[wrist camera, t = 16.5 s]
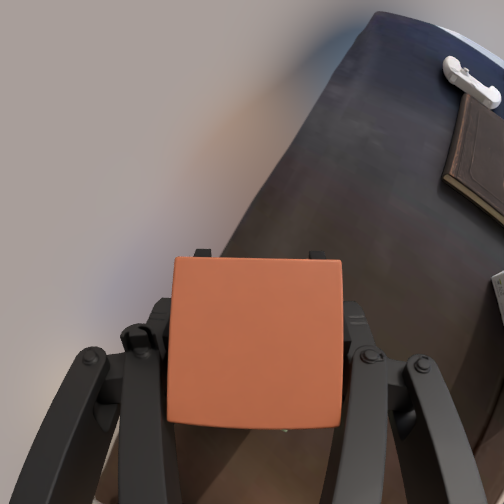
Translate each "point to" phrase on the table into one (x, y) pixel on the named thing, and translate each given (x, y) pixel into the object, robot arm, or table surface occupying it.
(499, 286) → the tea box
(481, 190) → the hardcover book
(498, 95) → the game controller
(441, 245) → the table surface
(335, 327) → the block
